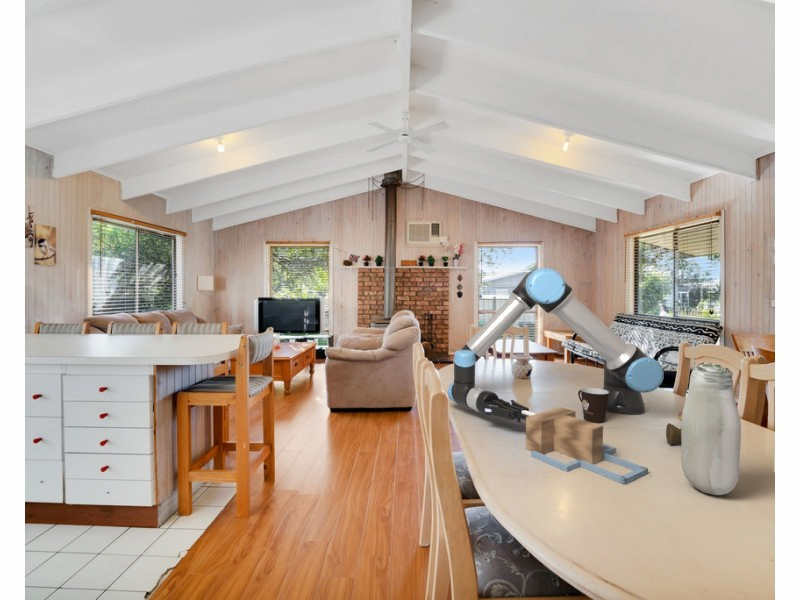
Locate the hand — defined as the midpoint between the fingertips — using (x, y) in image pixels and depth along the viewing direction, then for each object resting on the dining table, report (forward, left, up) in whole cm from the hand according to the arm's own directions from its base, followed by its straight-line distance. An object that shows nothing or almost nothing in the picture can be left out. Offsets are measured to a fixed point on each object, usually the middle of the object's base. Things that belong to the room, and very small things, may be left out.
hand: (540, 421), depth 116 cm
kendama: (-38, +13, -7) cm, 40 cm away
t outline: (-6, +14, -6) cm, 17 cm away
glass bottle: (-21, +32, -7) cm, 39 cm away
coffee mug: (-29, -16, -7) cm, 34 cm away
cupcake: (-51, +2, -7) cm, 52 cm away
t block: (-4, +7, -6) cm, 10 cm away
